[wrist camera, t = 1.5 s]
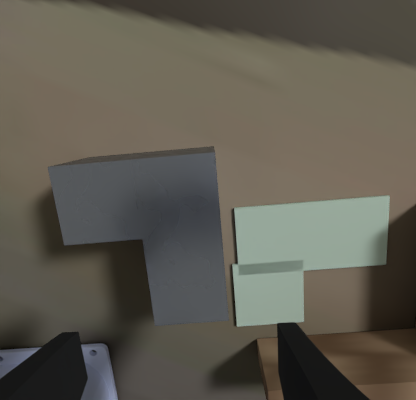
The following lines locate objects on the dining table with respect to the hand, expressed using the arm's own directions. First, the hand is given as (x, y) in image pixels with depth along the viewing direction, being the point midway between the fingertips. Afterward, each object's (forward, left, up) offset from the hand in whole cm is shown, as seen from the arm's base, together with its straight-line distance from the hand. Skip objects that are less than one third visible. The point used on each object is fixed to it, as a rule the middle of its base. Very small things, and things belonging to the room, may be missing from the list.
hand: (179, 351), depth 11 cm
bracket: (-2, +2, -10) cm, 10 cm away
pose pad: (+8, -2, -10) cm, 13 cm away
